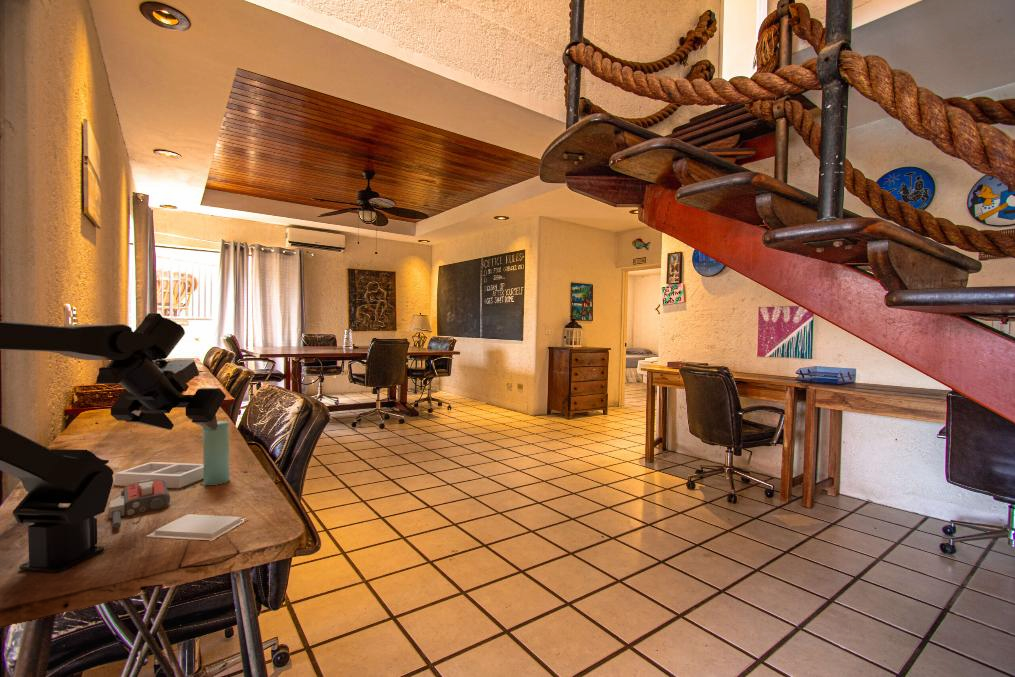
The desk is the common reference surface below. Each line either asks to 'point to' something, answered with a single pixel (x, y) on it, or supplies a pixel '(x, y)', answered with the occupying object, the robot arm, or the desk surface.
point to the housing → (161, 474)
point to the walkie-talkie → (139, 499)
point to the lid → (197, 527)
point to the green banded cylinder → (216, 454)
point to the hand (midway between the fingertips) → (193, 427)
